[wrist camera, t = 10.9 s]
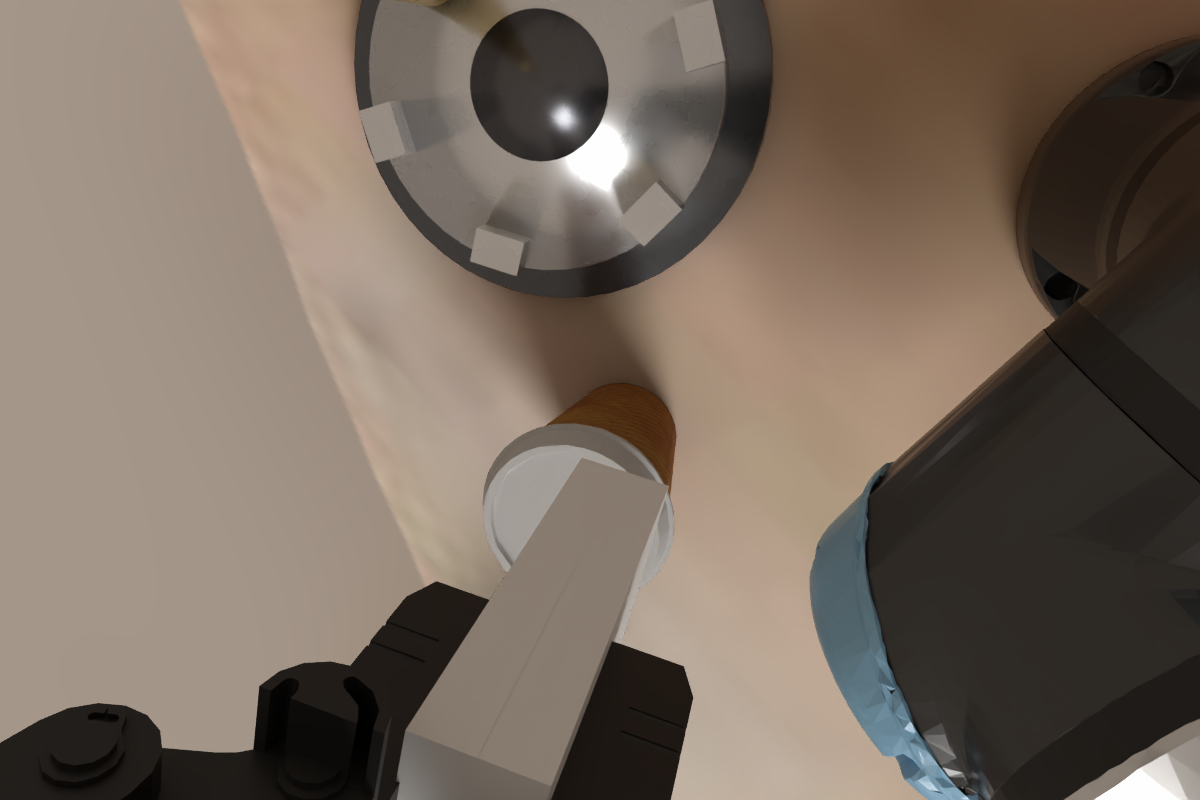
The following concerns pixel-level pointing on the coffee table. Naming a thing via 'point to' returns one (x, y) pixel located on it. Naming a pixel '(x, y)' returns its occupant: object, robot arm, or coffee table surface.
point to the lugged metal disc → (547, 119)
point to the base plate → (703, 208)
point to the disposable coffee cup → (550, 454)
